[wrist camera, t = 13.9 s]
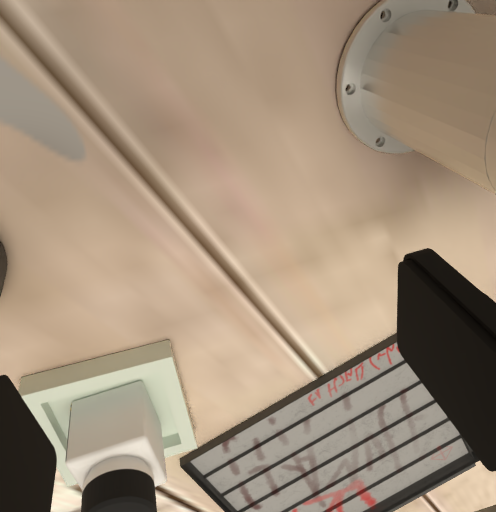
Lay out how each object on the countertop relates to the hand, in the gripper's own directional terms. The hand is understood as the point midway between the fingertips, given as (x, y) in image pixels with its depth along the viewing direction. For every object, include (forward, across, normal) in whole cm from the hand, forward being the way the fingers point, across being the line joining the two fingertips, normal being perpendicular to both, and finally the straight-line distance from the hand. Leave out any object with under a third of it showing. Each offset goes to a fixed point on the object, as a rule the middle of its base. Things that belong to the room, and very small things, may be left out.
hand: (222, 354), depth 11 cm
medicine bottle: (+26, +12, +29) cm, 41 cm away
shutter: (+28, -12, +50) cm, 59 cm away
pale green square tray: (+27, +12, +29) cm, 41 cm away
